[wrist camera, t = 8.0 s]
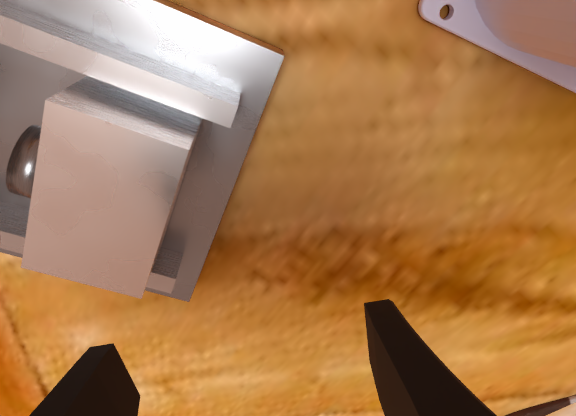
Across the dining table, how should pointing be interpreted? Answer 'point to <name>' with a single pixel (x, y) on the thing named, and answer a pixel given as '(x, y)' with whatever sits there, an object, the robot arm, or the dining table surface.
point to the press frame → (146, 82)
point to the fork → (545, 407)
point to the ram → (100, 183)
